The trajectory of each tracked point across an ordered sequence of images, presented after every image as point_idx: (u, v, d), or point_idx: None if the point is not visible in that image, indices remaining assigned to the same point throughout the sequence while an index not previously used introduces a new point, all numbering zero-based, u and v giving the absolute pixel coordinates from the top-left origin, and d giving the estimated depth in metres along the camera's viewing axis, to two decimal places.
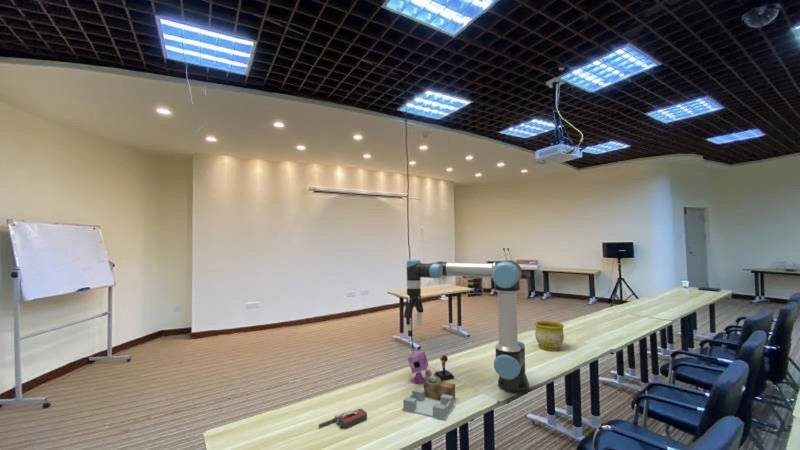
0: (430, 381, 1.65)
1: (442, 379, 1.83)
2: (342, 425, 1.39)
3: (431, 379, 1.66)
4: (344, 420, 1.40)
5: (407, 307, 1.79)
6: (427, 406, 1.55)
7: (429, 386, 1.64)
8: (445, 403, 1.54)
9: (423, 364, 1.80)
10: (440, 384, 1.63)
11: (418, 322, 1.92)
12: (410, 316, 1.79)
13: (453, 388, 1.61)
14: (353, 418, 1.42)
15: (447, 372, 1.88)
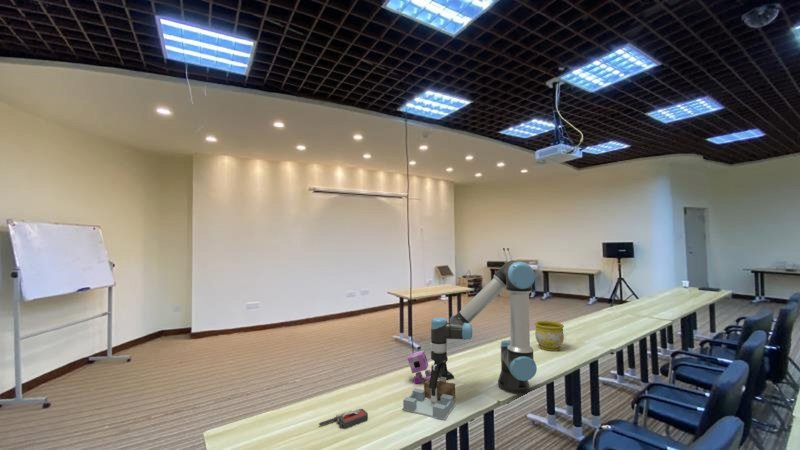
0: None
1: None
2: (342, 424, 1.39)
3: None
4: (344, 420, 1.40)
5: (432, 376, 1.58)
6: (427, 406, 1.55)
7: None
8: (445, 403, 1.54)
9: (423, 364, 1.80)
10: (440, 384, 1.63)
11: None
12: None
13: (453, 388, 1.61)
14: (353, 418, 1.42)
15: None
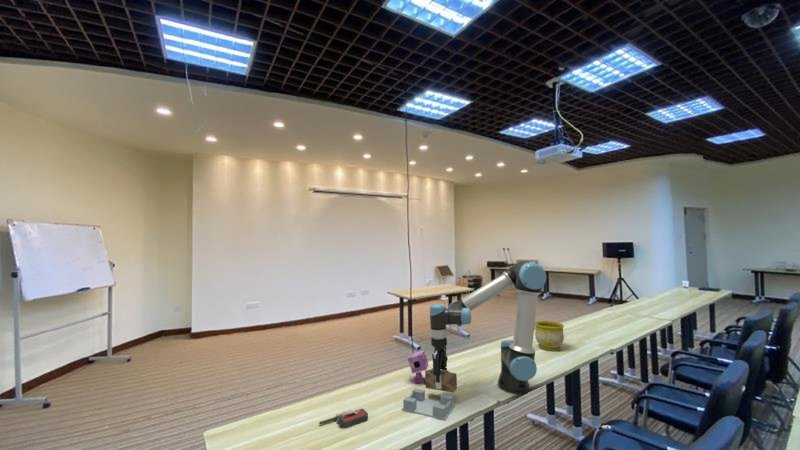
0: (431, 372, 1.65)
1: None
2: (341, 424, 1.39)
3: (432, 370, 1.66)
4: (344, 419, 1.40)
5: (435, 364, 1.59)
6: (427, 406, 1.55)
7: (431, 376, 1.64)
8: (445, 403, 1.54)
9: (423, 364, 1.80)
10: (441, 374, 1.63)
11: None
12: None
13: (454, 377, 1.61)
14: (353, 418, 1.42)
15: None
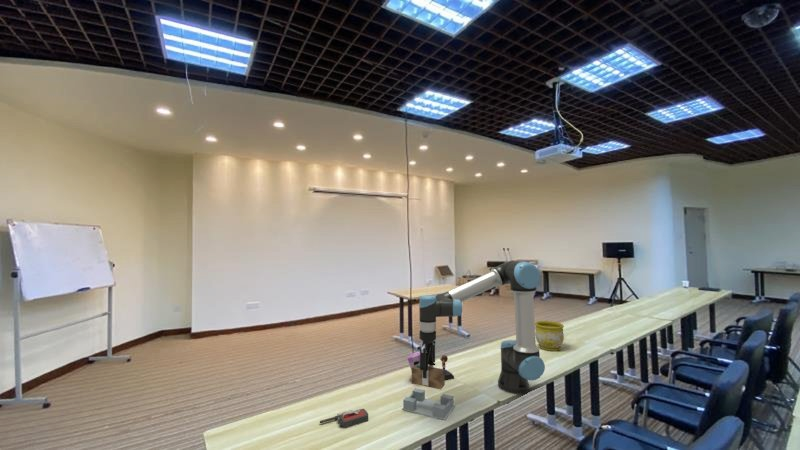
0: (418, 366, 1.55)
1: None
2: (341, 424, 1.40)
3: (419, 365, 1.56)
4: (344, 419, 1.41)
5: (422, 358, 1.50)
6: (427, 406, 1.55)
7: (417, 371, 1.54)
8: (445, 403, 1.54)
9: None
10: (429, 369, 1.54)
11: None
12: (427, 368, 1.51)
13: (442, 374, 1.52)
14: (353, 418, 1.42)
15: (447, 372, 1.88)
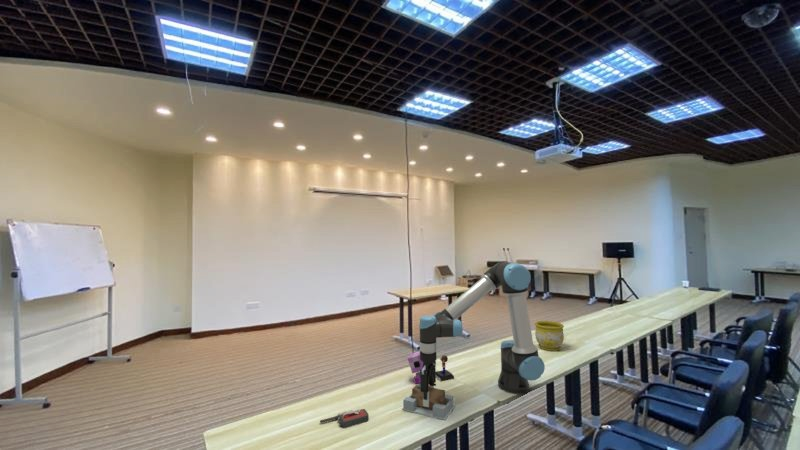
0: (419, 387, 1.55)
1: (442, 379, 1.83)
2: (341, 424, 1.40)
3: (420, 385, 1.56)
4: (344, 419, 1.41)
5: (422, 380, 1.50)
6: None
7: (418, 392, 1.54)
8: (445, 403, 1.54)
9: None
10: (429, 390, 1.53)
11: None
12: None
13: (443, 395, 1.52)
14: (353, 418, 1.42)
15: (447, 372, 1.88)
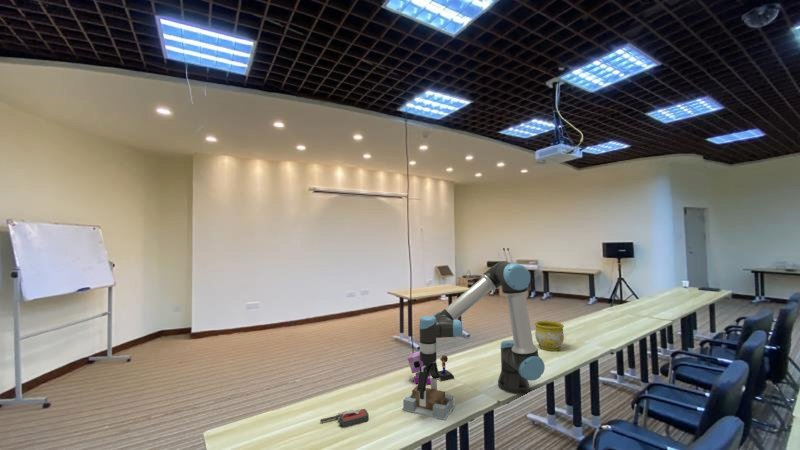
0: None
1: (442, 379, 1.83)
2: (341, 423, 1.40)
3: None
4: (343, 418, 1.41)
5: (421, 378, 1.48)
6: None
7: (418, 394, 1.54)
8: None
9: None
10: (429, 392, 1.53)
11: None
12: (424, 389, 1.48)
13: (443, 396, 1.51)
14: (353, 418, 1.42)
15: (447, 372, 1.88)
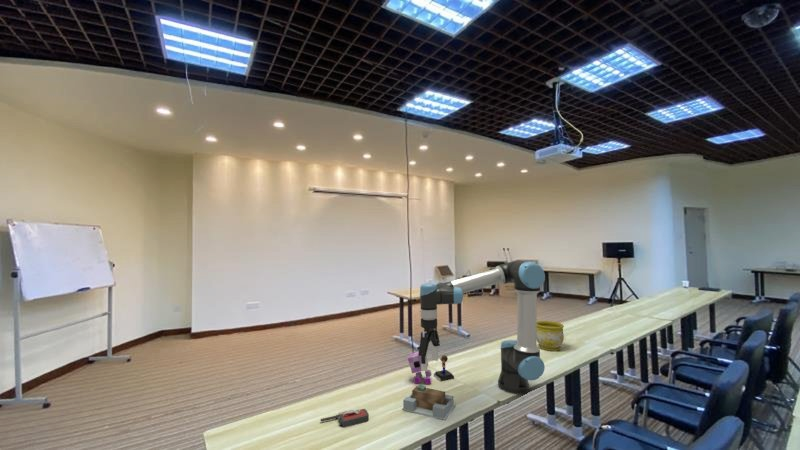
0: (419, 389, 1.55)
1: (442, 379, 1.83)
2: (341, 423, 1.40)
3: (420, 387, 1.56)
4: (343, 418, 1.41)
5: (422, 343, 1.49)
6: None
7: (418, 394, 1.54)
8: None
9: None
10: (429, 392, 1.53)
11: (434, 358, 1.62)
12: None
13: (443, 396, 1.51)
14: (353, 417, 1.42)
15: (447, 372, 1.88)
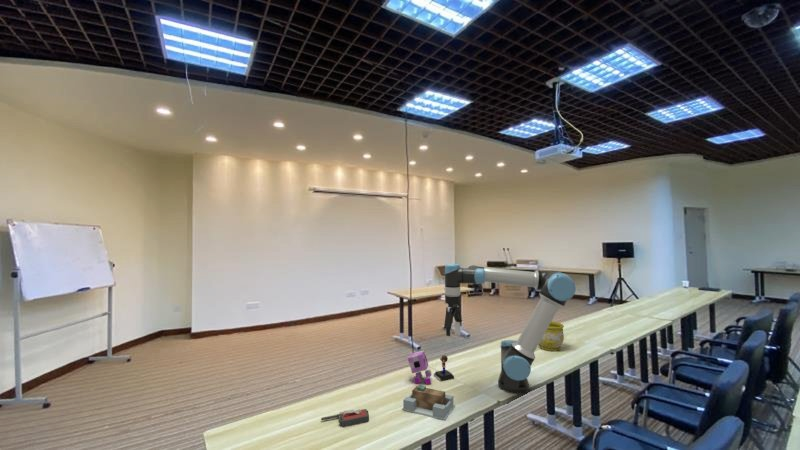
0: (419, 389, 1.55)
1: (442, 379, 1.83)
2: (341, 422, 1.41)
3: (420, 387, 1.56)
4: (343, 418, 1.41)
5: (447, 317, 1.62)
6: None
7: (418, 394, 1.54)
8: None
9: (423, 364, 1.80)
10: (429, 392, 1.53)
11: (456, 333, 1.75)
12: (450, 327, 1.62)
13: (443, 396, 1.51)
14: (353, 417, 1.42)
15: (447, 372, 1.88)
